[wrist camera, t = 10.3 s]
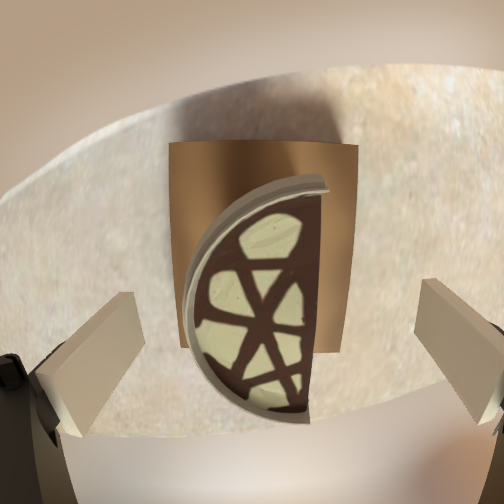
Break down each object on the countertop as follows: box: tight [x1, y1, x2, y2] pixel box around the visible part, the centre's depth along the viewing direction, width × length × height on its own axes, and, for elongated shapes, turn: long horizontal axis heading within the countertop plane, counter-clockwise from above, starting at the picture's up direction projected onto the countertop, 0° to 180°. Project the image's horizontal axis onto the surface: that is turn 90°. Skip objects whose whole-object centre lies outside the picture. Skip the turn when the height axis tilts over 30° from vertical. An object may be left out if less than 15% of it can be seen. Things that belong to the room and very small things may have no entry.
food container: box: [182, 173, 330, 425], centre depth 17 cm, size 12×6×10 cm, turn 1°
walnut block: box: [169, 140, 358, 353], centre depth 24 cm, size 13×16×5 cm
